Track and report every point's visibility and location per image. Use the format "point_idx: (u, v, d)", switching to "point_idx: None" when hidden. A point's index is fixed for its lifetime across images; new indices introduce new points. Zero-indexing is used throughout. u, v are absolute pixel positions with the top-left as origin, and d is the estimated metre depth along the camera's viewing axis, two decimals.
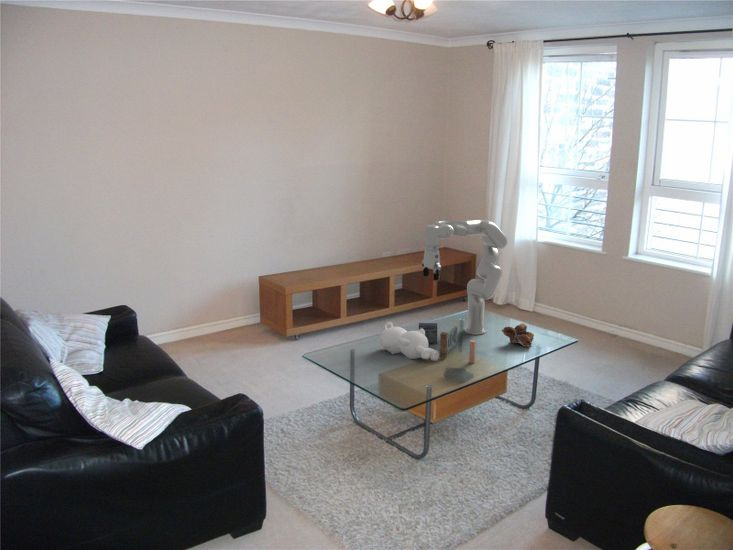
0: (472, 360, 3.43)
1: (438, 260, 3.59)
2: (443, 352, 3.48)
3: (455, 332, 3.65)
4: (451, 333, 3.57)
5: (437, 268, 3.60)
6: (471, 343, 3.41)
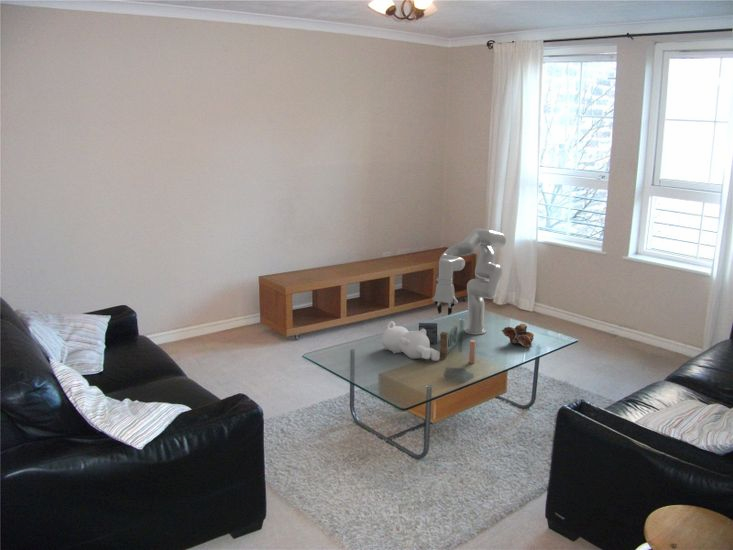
0: (472, 360, 3.43)
1: None
2: (443, 352, 3.48)
3: (455, 332, 3.65)
4: (451, 333, 3.57)
5: None
6: (471, 343, 3.41)
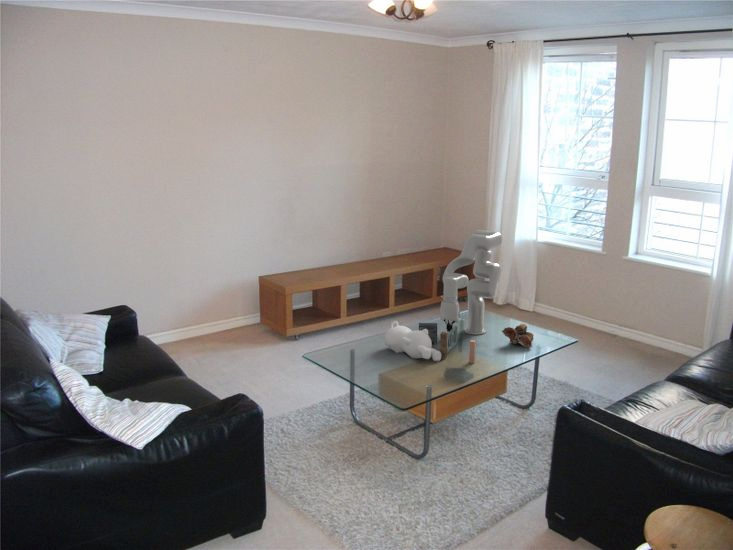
0: (472, 360, 3.43)
1: None
2: (443, 352, 3.48)
3: (455, 332, 3.65)
4: (451, 333, 3.57)
5: None
6: (471, 343, 3.41)
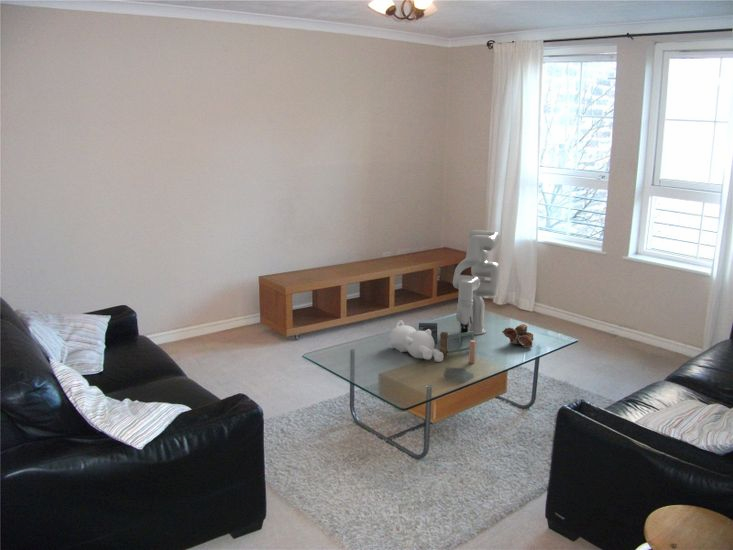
0: (472, 360, 3.43)
1: None
2: (443, 352, 3.48)
3: (471, 337, 3.57)
4: (458, 336, 3.53)
5: None
6: (471, 343, 3.41)
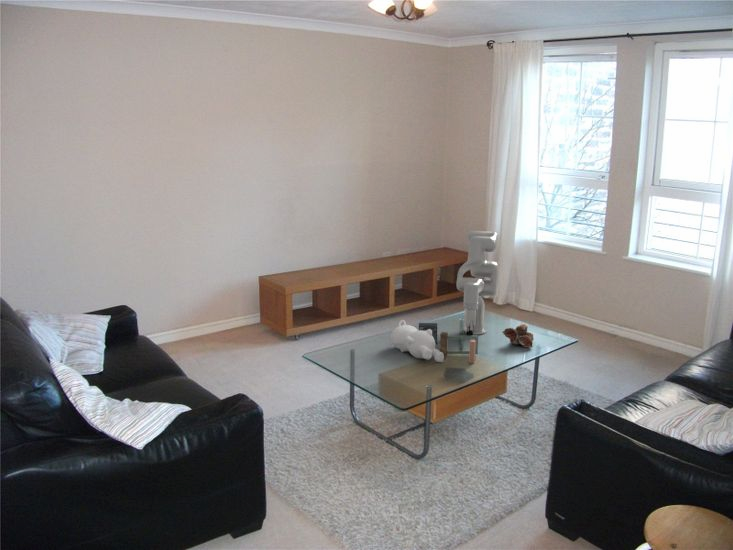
0: (472, 360, 3.43)
1: None
2: (443, 352, 3.48)
3: None
4: (460, 338, 3.50)
5: None
6: (471, 343, 3.41)
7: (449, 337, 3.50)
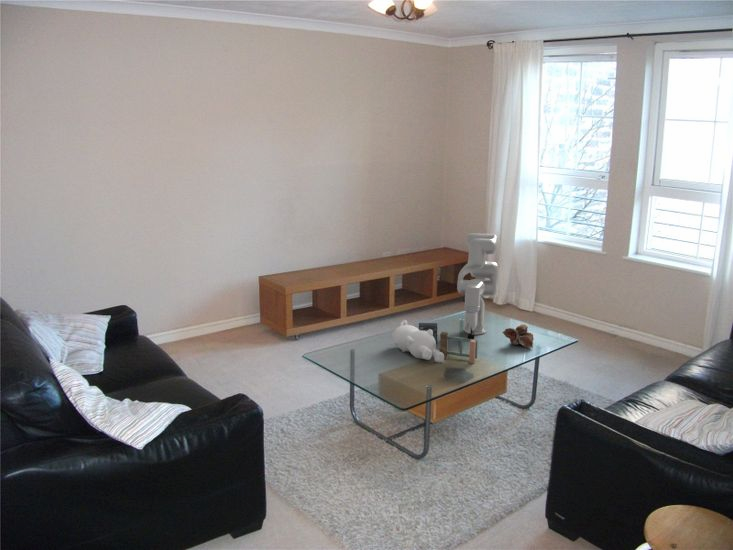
0: (472, 360, 3.43)
1: None
2: (443, 352, 3.48)
3: None
4: (459, 339, 3.48)
5: None
6: (471, 343, 3.41)
7: (448, 337, 3.49)
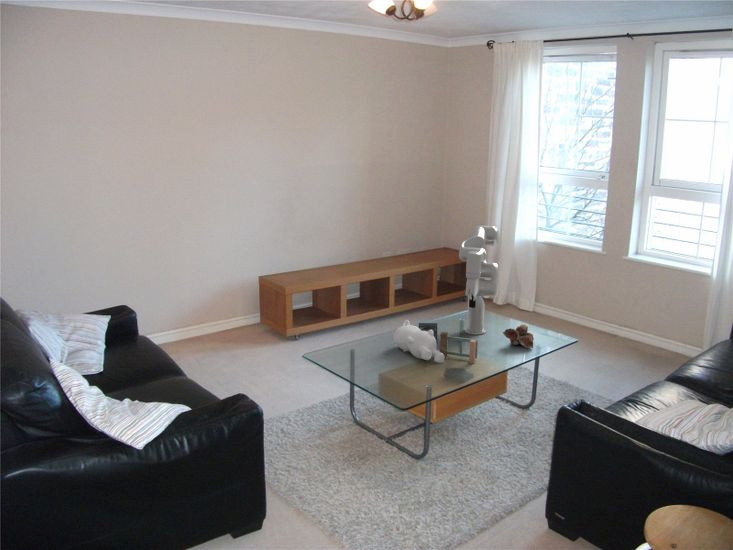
0: (472, 360, 3.43)
1: None
2: (443, 352, 3.48)
3: None
4: (459, 339, 3.47)
5: None
6: (471, 343, 3.41)
7: (448, 337, 3.49)
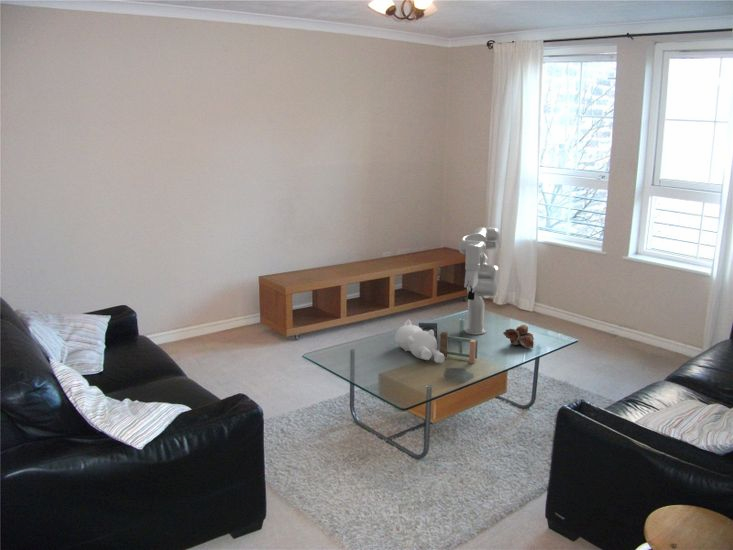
0: (472, 360, 3.43)
1: None
2: (443, 352, 3.48)
3: None
4: (459, 339, 3.47)
5: None
6: (471, 343, 3.41)
7: (448, 337, 3.49)
